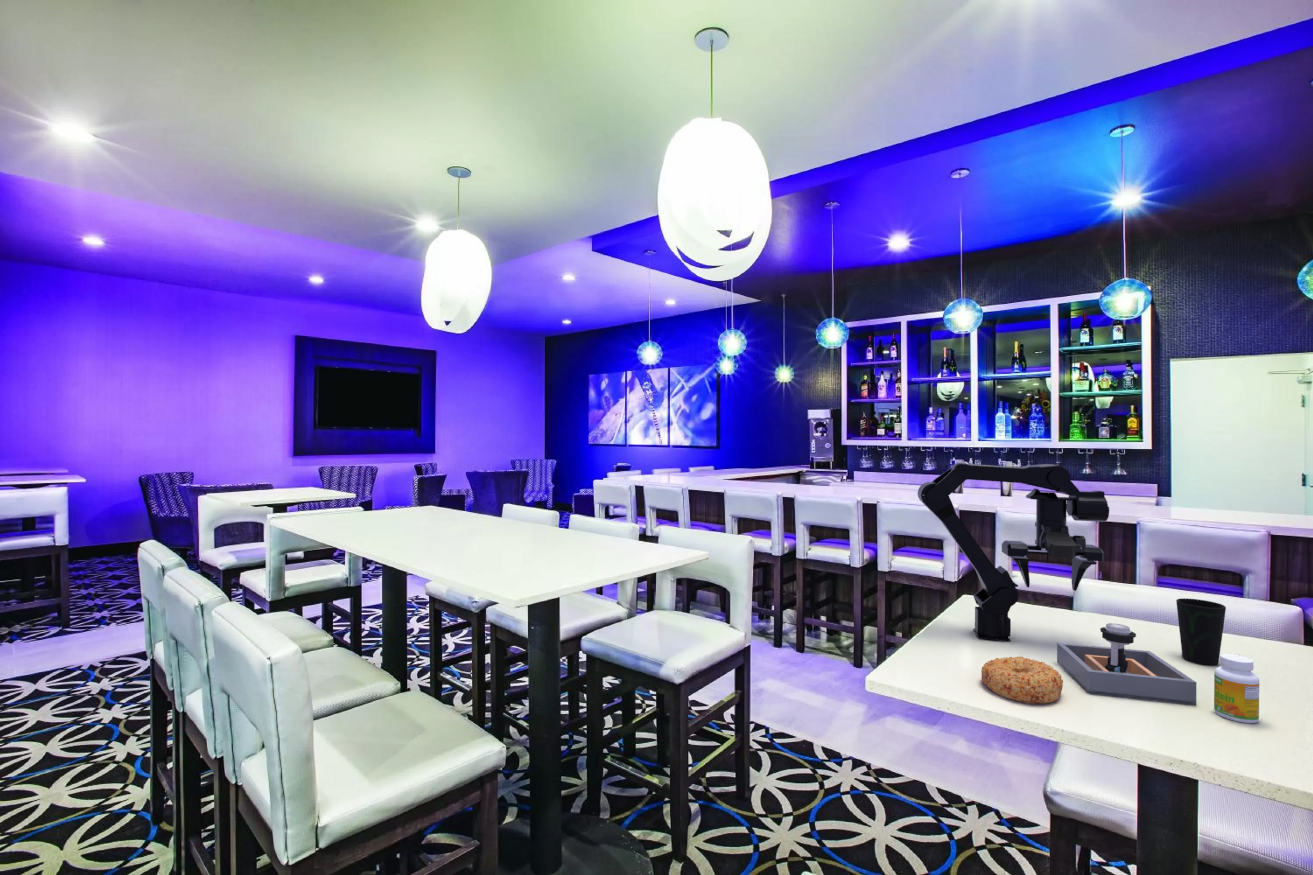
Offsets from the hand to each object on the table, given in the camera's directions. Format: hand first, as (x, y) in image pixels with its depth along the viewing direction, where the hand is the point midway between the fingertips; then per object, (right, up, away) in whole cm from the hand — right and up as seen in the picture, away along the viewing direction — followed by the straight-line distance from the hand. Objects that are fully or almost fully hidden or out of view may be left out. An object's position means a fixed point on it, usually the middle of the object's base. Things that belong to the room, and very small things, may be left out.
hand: (1050, 588), depth 136 cm
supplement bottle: (+7, -12, -36) cm, 39 cm away
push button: (-2, -12, -22) cm, 25 cm away
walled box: (-2, -12, -22) cm, 26 cm away
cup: (+24, -12, -11) cm, 29 cm away
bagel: (-23, -12, -27) cm, 37 cm away
